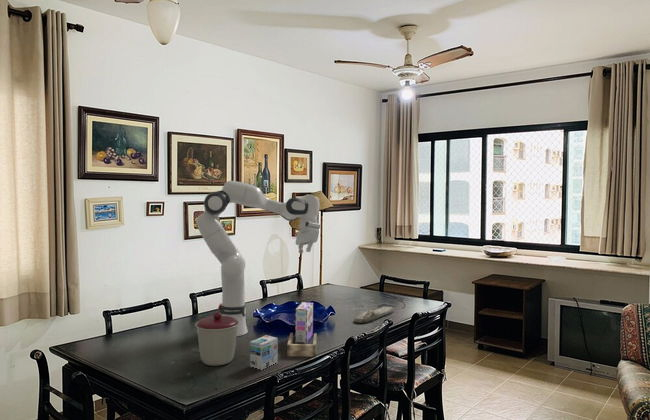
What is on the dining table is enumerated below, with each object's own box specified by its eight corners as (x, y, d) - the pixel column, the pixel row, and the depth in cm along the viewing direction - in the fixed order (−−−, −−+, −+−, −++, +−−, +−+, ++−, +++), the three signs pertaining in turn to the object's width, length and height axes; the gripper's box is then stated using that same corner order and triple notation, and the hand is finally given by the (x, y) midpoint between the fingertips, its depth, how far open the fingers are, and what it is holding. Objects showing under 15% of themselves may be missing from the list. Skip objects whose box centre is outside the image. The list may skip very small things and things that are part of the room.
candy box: (306, 343, 224) (307, 309, 223) (294, 342, 225) (294, 308, 224) (313, 334, 237) (313, 302, 237) (301, 334, 239) (302, 301, 238)
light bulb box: (261, 371, 191) (262, 344, 191) (249, 367, 195) (249, 341, 194) (278, 362, 200) (278, 337, 200) (265, 359, 204) (265, 334, 203)
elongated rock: (397, 314, 282) (383, 312, 288) (397, 305, 282) (383, 304, 288) (364, 324, 254) (349, 322, 261) (364, 314, 254) (349, 312, 261)
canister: (198, 372, 189) (198, 320, 187) (192, 357, 205) (192, 308, 204) (243, 366, 196) (244, 315, 195) (234, 351, 212) (234, 305, 211)
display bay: (287, 356, 208) (287, 344, 207) (290, 343, 224) (290, 332, 224) (315, 356, 208) (315, 345, 207) (316, 343, 224) (316, 333, 224)
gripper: (294, 227, 252) (290, 253, 249) (310, 222, 234) (306, 249, 230) (305, 229, 254) (301, 255, 251) (322, 224, 236) (318, 252, 233)
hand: (304, 252), depth 241 cm, fingers open, 8 cm apart
